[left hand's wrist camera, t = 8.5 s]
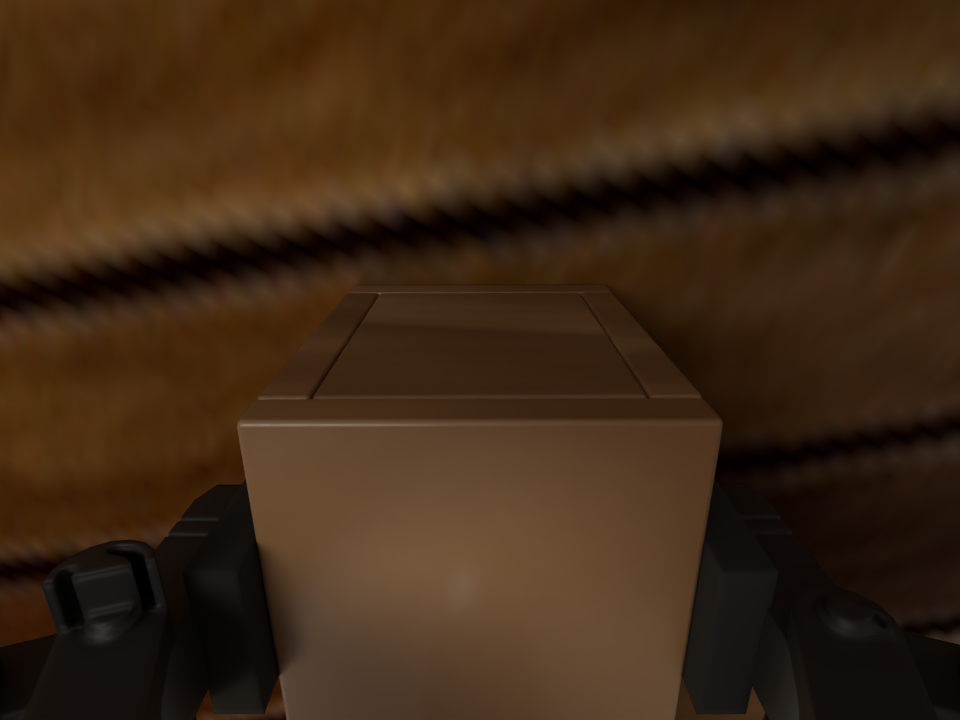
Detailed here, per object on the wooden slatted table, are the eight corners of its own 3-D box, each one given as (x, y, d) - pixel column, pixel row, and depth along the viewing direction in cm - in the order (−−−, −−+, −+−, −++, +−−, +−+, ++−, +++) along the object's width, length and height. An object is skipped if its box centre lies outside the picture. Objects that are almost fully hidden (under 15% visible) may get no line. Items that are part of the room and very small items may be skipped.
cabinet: (572, 730, 21) (622, 1052, 14) (390, 731, 21) (341, 1052, 14) (606, 283, 15) (727, 420, 8) (353, 284, 15) (233, 421, 8)
